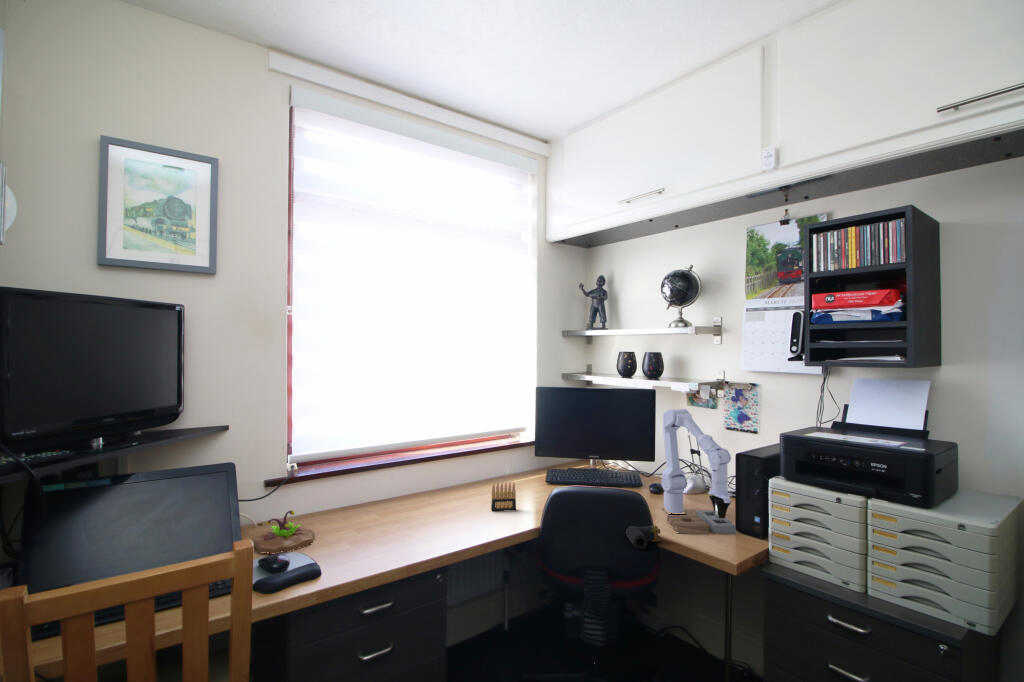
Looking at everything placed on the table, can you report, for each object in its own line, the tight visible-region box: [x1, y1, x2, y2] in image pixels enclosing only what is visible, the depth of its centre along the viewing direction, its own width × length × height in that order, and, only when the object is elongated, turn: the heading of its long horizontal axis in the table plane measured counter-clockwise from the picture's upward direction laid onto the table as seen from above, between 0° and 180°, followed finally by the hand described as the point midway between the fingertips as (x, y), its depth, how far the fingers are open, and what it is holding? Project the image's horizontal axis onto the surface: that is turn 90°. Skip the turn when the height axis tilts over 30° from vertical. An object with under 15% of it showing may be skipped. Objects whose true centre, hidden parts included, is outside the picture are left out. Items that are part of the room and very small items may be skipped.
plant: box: [251, 510, 316, 553], centre depth 177 cm, size 20×20×11 cm
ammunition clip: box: [490, 481, 517, 512], centre depth 214 cm, size 11×2×12 cm, turn 98°
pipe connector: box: [624, 525, 662, 550], centre depth 179 cm, size 12×5×15 cm
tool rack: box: [696, 509, 737, 535], centre depth 195 cm, size 18×8×3 cm, turn 0°
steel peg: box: [715, 503, 724, 523], centre depth 190 cm, size 3×3×9 cm
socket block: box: [666, 514, 710, 534], centre depth 192 cm, size 12×12×3 cm
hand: (719, 516), depth 190 cm, fingers closed on steel peg, 3 cm apart
